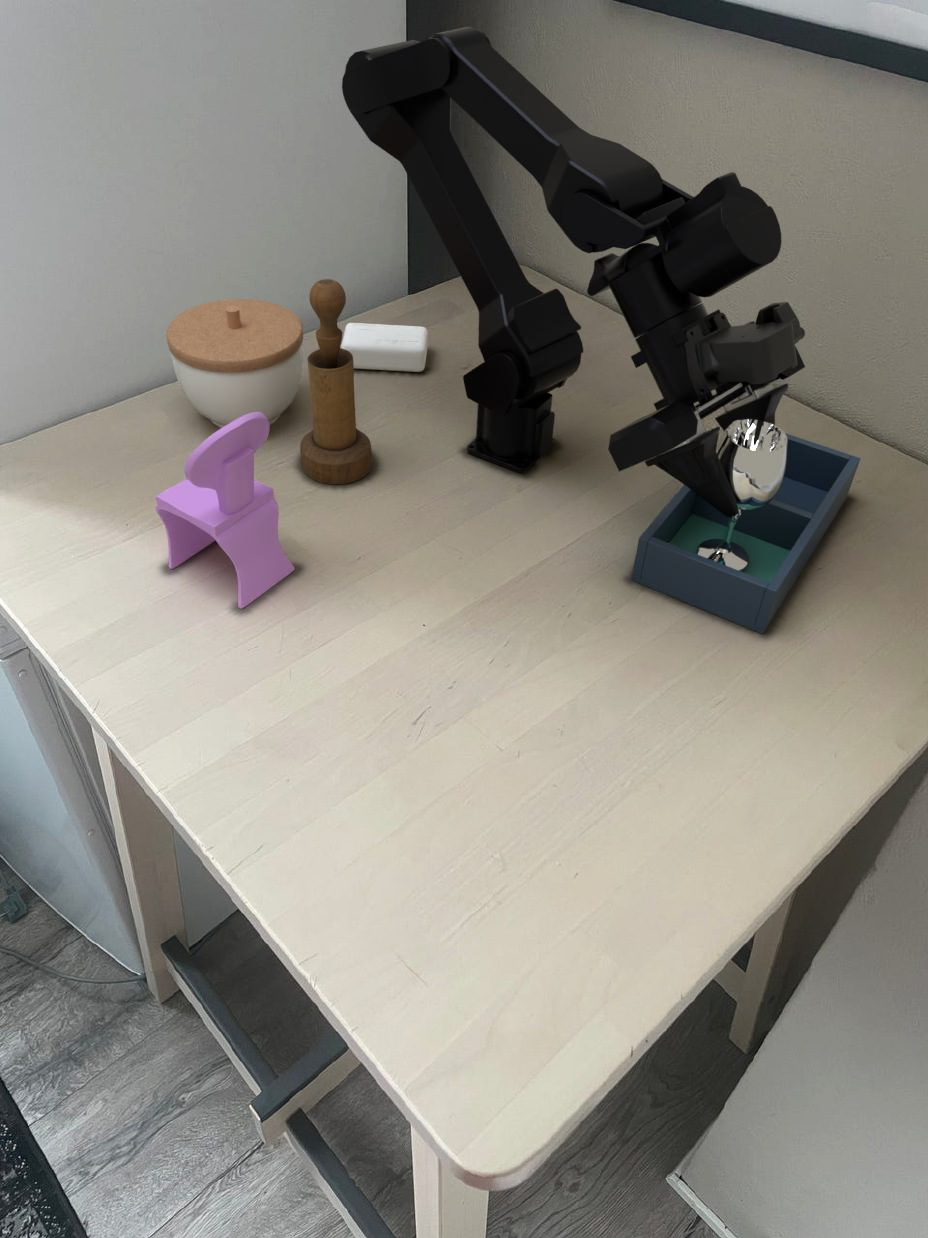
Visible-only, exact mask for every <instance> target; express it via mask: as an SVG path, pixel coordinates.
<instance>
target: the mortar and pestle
mask: <svg viewBox="0 0 928 1238" xmlns="http://www.w3.org/2000/svg"><path fill="white" fill-rule="evenodd" d="M346 302H347V296H346V292H345V289H344V287H343V286H342V284H341V283H339V282H338V281H337V280H334V279H331V278H324V279H320V280H317V281H316V282H315V283H313V285H312V286H311V288H310V290H309V304H310V306H311V308H312V309H313V312H314V313H315V314H316V316H317V318H318V319H319V322H320V325H319V328H318V329H316V331H315V338H316V342H317V345H318V349H316V350H314V351H313V352H311V353H310V354H309V355H308V356H307V369H308V379H309V380H308V381H309V393H310V403H311V404H310V405H311V417H312V418H311V419H312V430H310V431H308V432H307V433H306V434H305V435H303V437H302V439H301V441H300V445H299V448H300V450H299V451H300V465H301V468H302V470H303V472H304V473H305V475H306V476H308V477H309V478H310V479H312V480H314V481H315V482H318V483H322V484H327V485H345V484H350V483H354V482H357V481H359V480H360V479H363V478H364V477H365V476H367V475H368V474H369V472H370V470H371V468H372V463H373V460H372V459H373V458H372V457H373V456H372V443H371V441H370V438H369V436H368V435H367V434H365V433H364V432H363V431H361V430H360V429H358V428H357V418H356V400H355V399H356V398H355V373H354V369H355V368H354V366H353V355H352V354H351V353H350V352H349V351H347V350H345V349H342V348H341V344H342V341H343V331H342V329H341V328H339V326H338V320H339V318H340V316H341V314H342V313H343V310H344V309H345V305H346Z"/></svg>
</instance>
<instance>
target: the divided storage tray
mask: <svg viewBox="0 0 928 1238" xmlns="http://www.w3.org/2000/svg"><path fill="white" fill-rule="evenodd" d="M784 433H785V434H786V436H787V464H786V471H785V476H784V479H783V483H782V485H781V487H780V489H779V491H778V493H777V495H776V496H775V497H774V499H773V500H771V501H770V502H769V503H768V504H767V505H765V506H763V507H760V508H758V509H753V510H741V516H740V518H739V519H738V520H737V522H736V524H735V526H734V528H733V531H732V535H731V538H730V541H732V542H734V543H736V544H738V545H740V546H741V547H742V548H743V549H744V550H745V551H746V552H747V554H748V556H749V564H748V566H747V567H746V568H745V569H743V570H742V571H738V570H736V569H733V568H731V567H728V566H726V565H723V564H721V563H718V562H715V561H713V560H710V559H708V558H705V557H703V556H700V555H698V554H696V550H697V547H698V546H699V544H700V543H702V542H704V541H706V540H709V539H724V538H725V535H726V532H727V528H728V520H729V518H727V517H725V516H724V515H723V514H722V513H720V512H719V511H718V510H717V509H715V508H714V507H713V506H711V505H710V504H709V503H708V502H706V501H705V500H704V499H703V498H701V497H700V496H699V495H697V494H696V493H695V492H694V491H692V490H691V489H690V488H688V487H687V486H686V485H684V484H683V485H682V486H681V487H680V488H679V490H678V491H677V492H676V493H675V494H674V496H672V498H671V499H670V500H669V502H668V503H667V504H666V505H665V506H664V507H663V509H662V510H661V511H660V512H659V514H658V515H657V516H656V517H655V518H654V519H653V521H652V522H650V524H649V526H648V527H647V528H646V529H645V530H644V531H643V533H642V534H641V535H640V536H639V537H638V542H637V546H636V552H635V557H634V562H633V566H632V572H631V577H630V580H631V581H633V582H635V583H638V584H640V585H643V586H645V587H647V588H650V589H652V590H654V591H657V592H659V593H662V594H664V595H666V596H669V597H670V598H671V597H672V598H674V599H676V600H678V601H681V602H683V603H686V604H688V605H691V606H694V607H696V608H698V609H701V610H702V611H706V612H708V613H710V614H713V615H715V616H717V617H720V618H722V619H725V620H727V621H729V622H732V623H734V624H736V625H739V626H742V627H744V628H747V629H749V630H752V631H753V632H756V633H759V634H761V635H763V634H764V633H765V631H766V630H767V628H768V626H769V624H770V623H771V621H772V620H773V618H774V616H775V615H776V613H777V612H778V610H779V608H780V607H781V605H782V604H783V602H784V600H785V598H787V595H788V594H789V592H790V590H791V589H792V587H793V586H794V584H795V583H796V580H798V577H799V576H800V574H801V573H802V571H803V570H804V568H805V566H806V564H807V563H808V561H809V560H810V558H811V557H812V555H813V553H814V552H815V551H816V548H817V547H818V545H819V543H820V542H821V540H823V539H822V538H823V537H824V535H825V534H826V532H827V531H828V529H829V527H830V526H831V524H832V522H833V521H834V519H835V518H836V516H837V514H838V513H839V511H840V510H841V508H842V506H843V504H844V503H845V502H846V500H847V497H848V495H849V492H850V490H851V487H852V484H853V481H854V478H855V476H856V473H857V470H858V467H859V464H860V462H861V459H862V458H861V457H858V456H855V455H853V454H850V453H846V452H843V451H840V450H837V449H833V448H831V447H828V446H825V445H822V444H819V443H816V442H814V441H810V440H807V439H805V438H801V437H798V436H795V435H793V434H790V433H786V432H784Z"/></svg>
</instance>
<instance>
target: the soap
mask: <svg viewBox="0 0 928 1238" xmlns="http://www.w3.org/2000/svg"><path fill="white" fill-rule="evenodd" d="M428 337H429V333H428V329H427V328H426V327H424V326H417V325H416V326H415V325H403V324H402V325H399V324H384V323H383V324H379V323H364V322H363V323H362V322H348V323H347V324H346V325H345V328H344V332H343V336H342V341H341V346H340V348H342V349H345V350H347V351H349V352H350V353H351V354H352V355H353V366H354V369H357V370H359V369H361V370H374V371H375V370H380V371H394V372H395V371H396V372H397V371H398V372H411V373H413V372H414V373H420V372H423V371H424V370H425V368H426V361H427V354H428V348H429V347H428V342H429V341H428Z"/></svg>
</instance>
